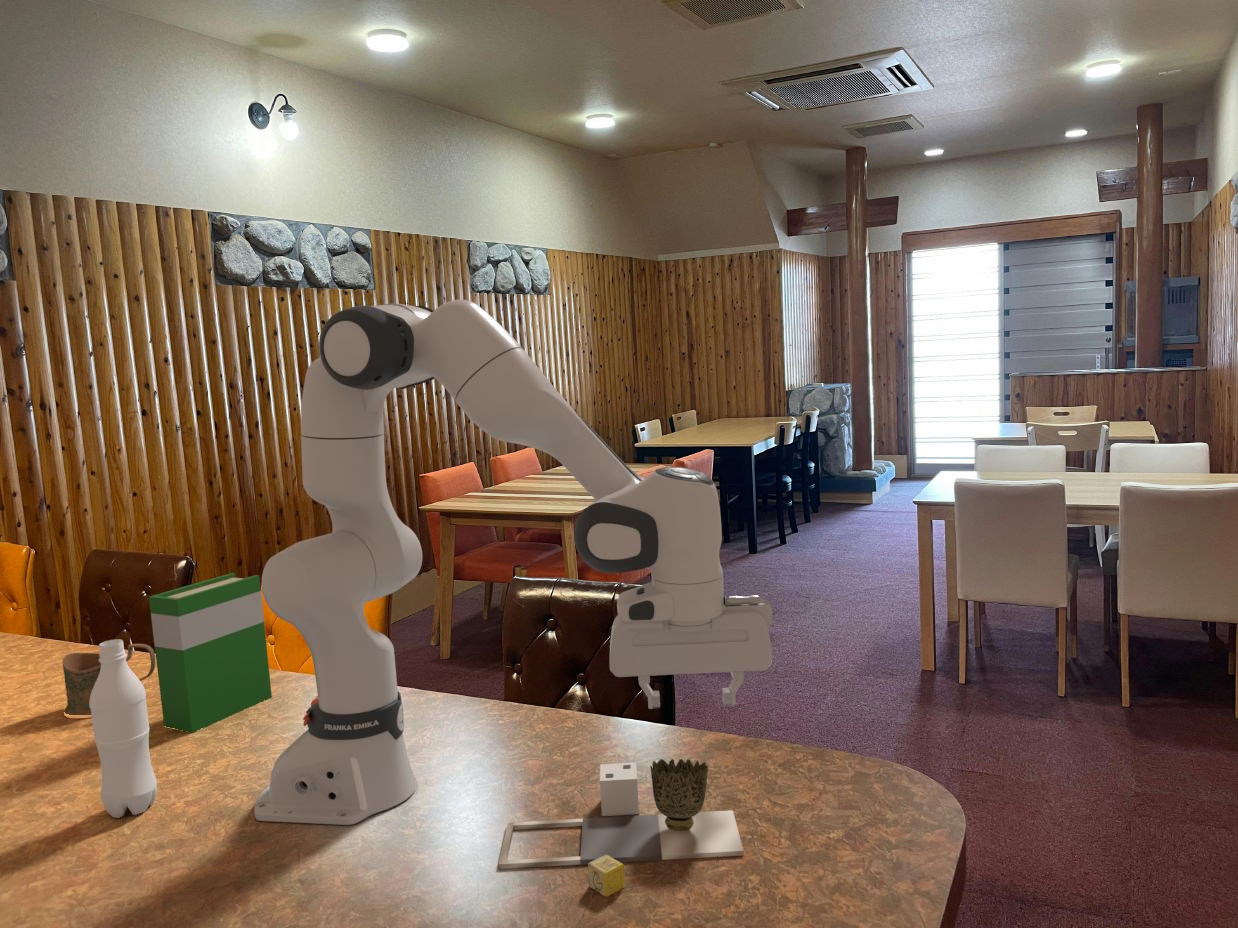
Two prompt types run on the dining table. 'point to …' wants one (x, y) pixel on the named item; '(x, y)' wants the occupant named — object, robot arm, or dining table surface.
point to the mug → (88, 677)
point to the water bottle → (122, 734)
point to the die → (619, 789)
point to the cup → (679, 791)
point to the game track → (637, 839)
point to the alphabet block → (606, 875)
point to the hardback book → (210, 650)
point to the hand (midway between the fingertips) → (691, 705)
